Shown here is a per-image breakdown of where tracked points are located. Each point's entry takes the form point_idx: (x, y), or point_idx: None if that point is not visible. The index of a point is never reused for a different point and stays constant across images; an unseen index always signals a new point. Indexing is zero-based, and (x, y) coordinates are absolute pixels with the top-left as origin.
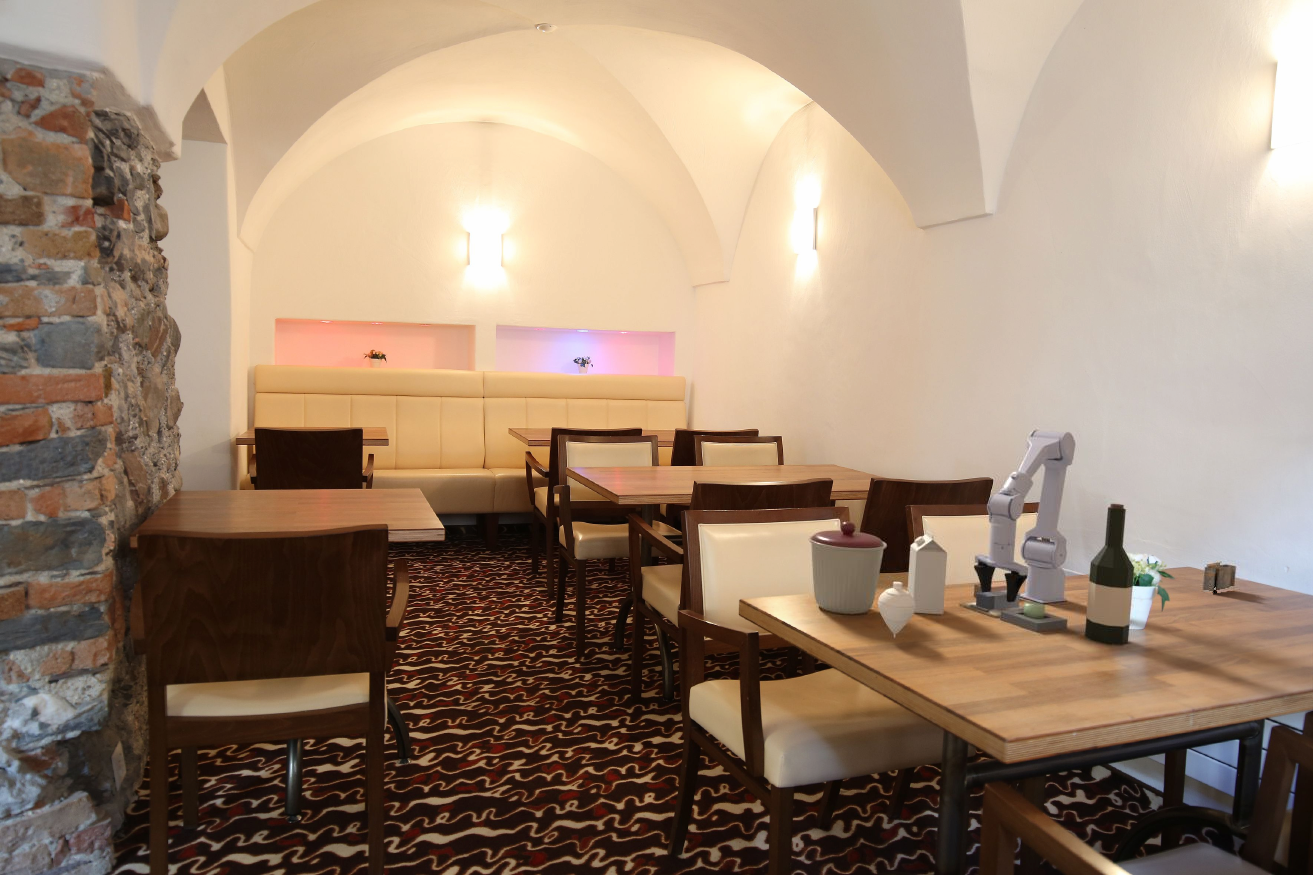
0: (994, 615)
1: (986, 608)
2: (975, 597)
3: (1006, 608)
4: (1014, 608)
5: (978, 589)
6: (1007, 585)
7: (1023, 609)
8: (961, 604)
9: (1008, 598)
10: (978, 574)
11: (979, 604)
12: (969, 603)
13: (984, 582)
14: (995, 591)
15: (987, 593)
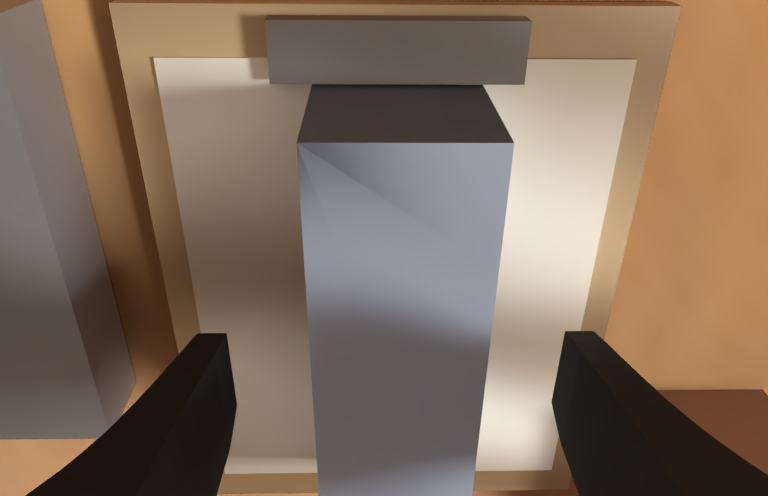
0: (123, 5)
1: (318, 88)
2: (743, 391)
3: None
4: (300, 397)
5: (759, 456)
6: (134, 467)
7: (60, 342)
8: (646, 4)
9: (185, 351)
10: (762, 491)
11: (430, 93)
12: (611, 125)
13: (621, 442)
14: (472, 428)
15: (440, 277)
